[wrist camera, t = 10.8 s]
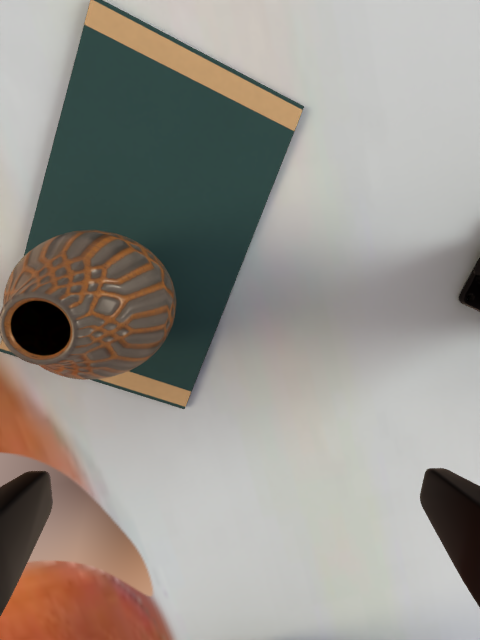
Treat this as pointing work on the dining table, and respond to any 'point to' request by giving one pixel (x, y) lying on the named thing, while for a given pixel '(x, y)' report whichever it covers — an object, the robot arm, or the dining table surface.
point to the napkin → (164, 174)
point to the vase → (87, 305)
